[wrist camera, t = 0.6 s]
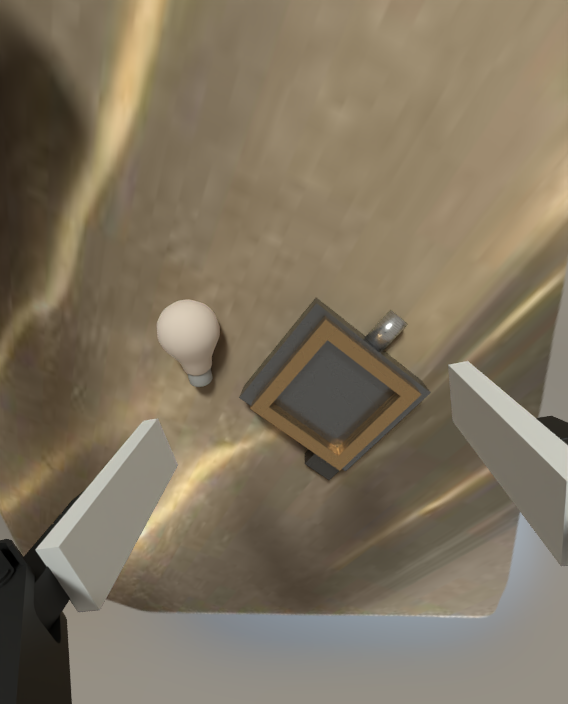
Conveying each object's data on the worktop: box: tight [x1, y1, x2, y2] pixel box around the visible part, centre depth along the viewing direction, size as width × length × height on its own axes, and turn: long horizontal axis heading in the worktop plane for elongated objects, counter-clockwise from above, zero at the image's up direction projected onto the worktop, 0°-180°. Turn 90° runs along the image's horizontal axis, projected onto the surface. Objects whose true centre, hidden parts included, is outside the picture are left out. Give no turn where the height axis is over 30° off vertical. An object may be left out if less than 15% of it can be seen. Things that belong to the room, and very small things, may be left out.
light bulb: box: [157, 299, 220, 387], centre depth 37 cm, size 7×7×11 cm
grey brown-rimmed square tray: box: [239, 298, 430, 480], centre depth 37 cm, size 16×21×4 cm
